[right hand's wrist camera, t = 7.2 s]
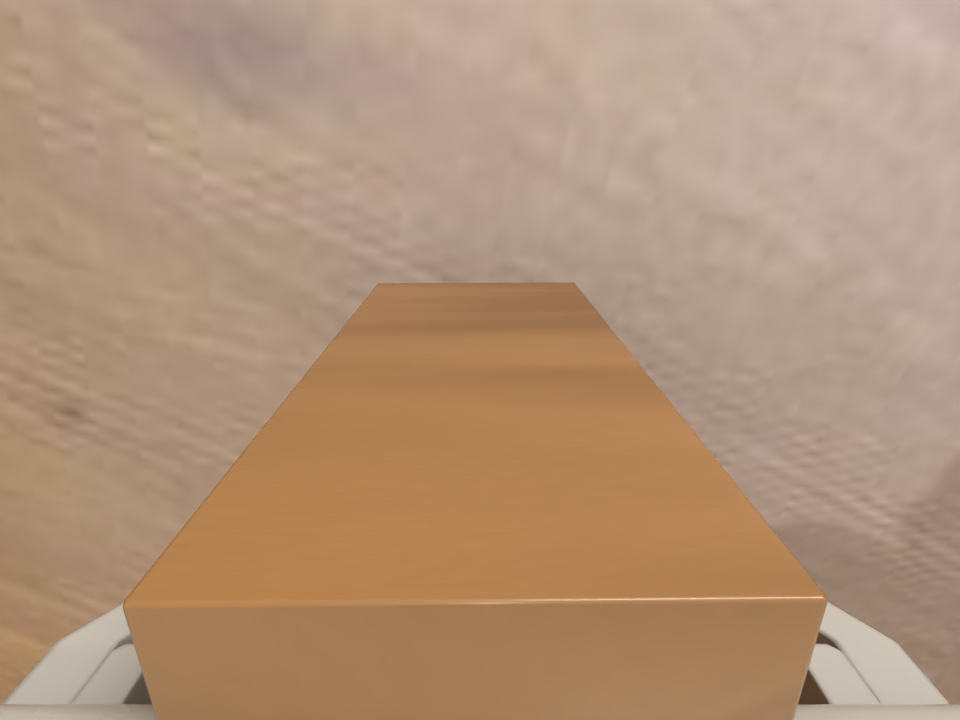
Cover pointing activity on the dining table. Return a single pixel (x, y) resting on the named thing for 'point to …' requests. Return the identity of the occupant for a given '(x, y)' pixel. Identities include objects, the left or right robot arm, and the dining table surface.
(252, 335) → the dining table surface
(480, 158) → the dining table surface
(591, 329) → the box
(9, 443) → the dining table surface
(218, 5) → the dining table surface
